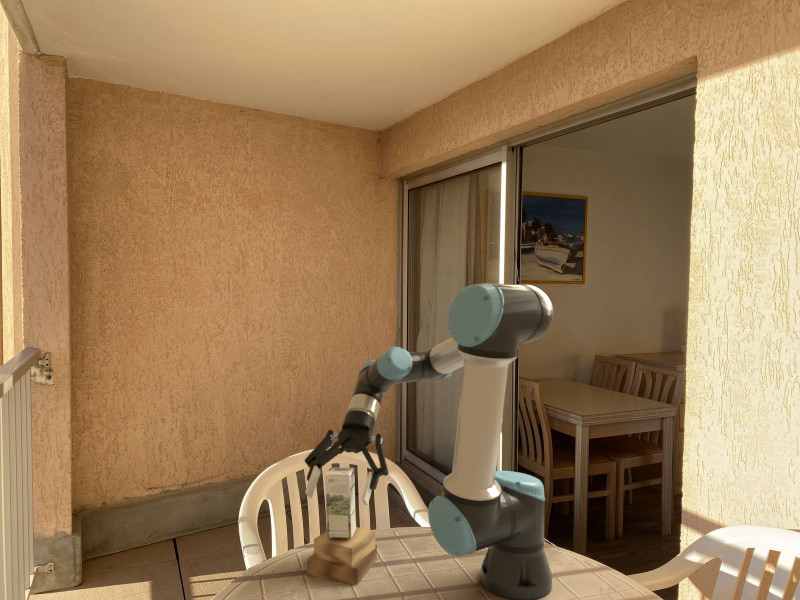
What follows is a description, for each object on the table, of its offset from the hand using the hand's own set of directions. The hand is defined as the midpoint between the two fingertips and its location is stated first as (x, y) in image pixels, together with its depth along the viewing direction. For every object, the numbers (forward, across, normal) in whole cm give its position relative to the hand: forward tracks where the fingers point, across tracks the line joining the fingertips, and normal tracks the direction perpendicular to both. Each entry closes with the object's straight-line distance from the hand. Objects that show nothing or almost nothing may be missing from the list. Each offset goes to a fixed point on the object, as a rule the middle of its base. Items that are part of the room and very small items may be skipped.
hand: (335, 498), depth 126 cm
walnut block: (+10, 0, -14) cm, 17 cm away
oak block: (+7, -1, -12) cm, 14 cm away
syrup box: (+5, 0, -8) cm, 10 cm away
